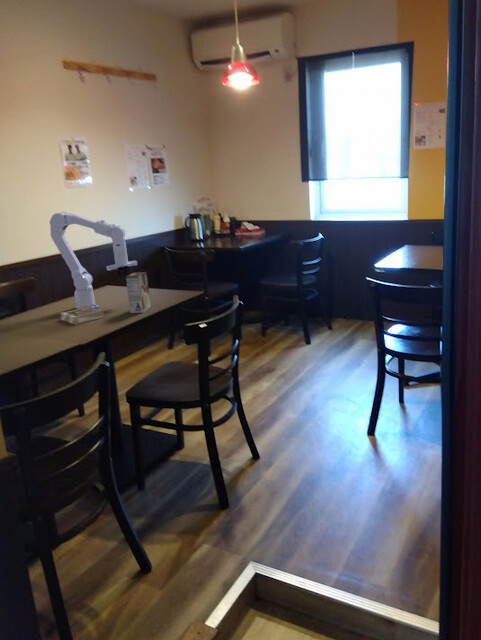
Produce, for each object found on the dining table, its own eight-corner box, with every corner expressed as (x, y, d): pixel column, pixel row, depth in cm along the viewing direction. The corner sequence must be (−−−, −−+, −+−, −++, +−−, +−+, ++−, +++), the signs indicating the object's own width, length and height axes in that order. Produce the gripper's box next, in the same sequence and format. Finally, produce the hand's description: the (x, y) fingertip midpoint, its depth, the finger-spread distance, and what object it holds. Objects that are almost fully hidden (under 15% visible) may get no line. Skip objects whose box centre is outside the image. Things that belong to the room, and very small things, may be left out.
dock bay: (61, 319, 238) (60, 312, 237) (90, 312, 246) (89, 306, 245) (75, 324, 227) (74, 317, 227) (105, 317, 236) (104, 310, 235)
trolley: (75, 318, 237) (73, 307, 236) (92, 314, 242) (90, 303, 241) (81, 320, 233) (79, 309, 232) (98, 316, 238) (97, 305, 237)
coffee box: (137, 307, 248) (133, 272, 244) (151, 307, 247) (146, 271, 242) (129, 313, 239) (124, 276, 235) (143, 312, 238) (139, 275, 234)
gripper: (110, 257, 242) (114, 287, 245) (139, 251, 251) (142, 281, 254) (102, 255, 247) (107, 285, 251) (131, 250, 256) (135, 279, 260)
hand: (124, 283), depth 253 cm, fingers closed
